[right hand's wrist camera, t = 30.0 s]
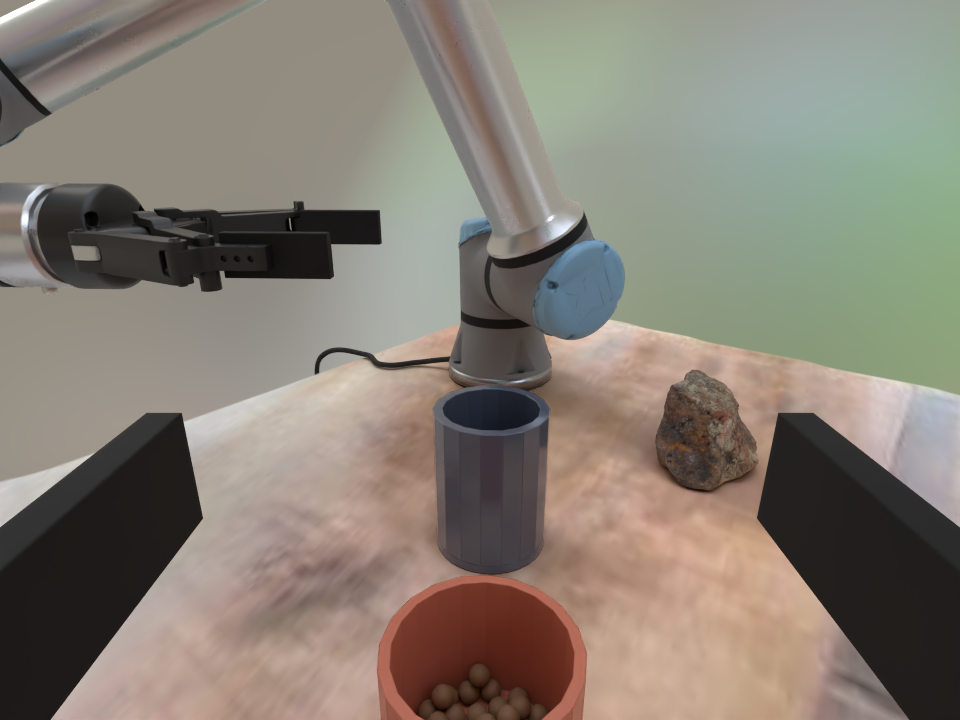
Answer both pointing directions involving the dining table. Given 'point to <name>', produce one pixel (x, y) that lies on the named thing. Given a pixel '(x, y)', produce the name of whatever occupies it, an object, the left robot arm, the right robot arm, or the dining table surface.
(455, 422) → the beaker
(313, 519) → the dining table surface
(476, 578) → the pot
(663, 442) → the rock
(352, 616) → the dining table surface
